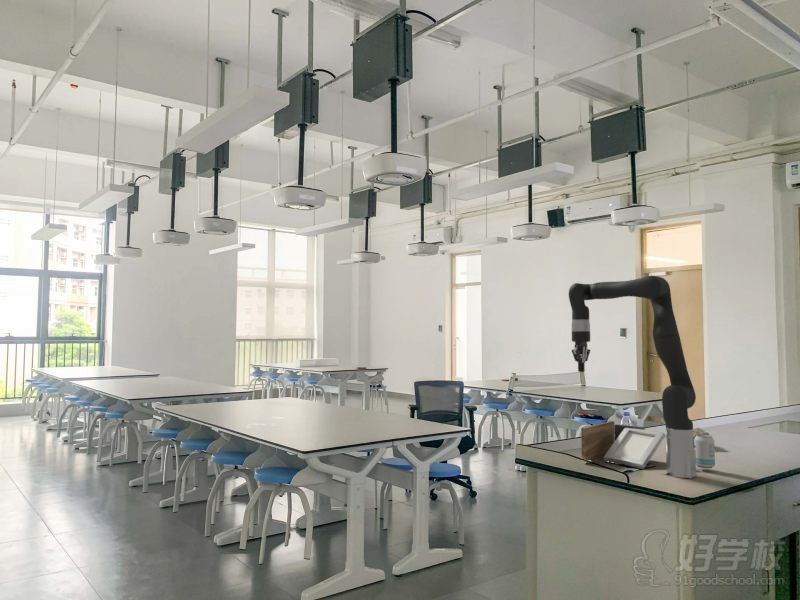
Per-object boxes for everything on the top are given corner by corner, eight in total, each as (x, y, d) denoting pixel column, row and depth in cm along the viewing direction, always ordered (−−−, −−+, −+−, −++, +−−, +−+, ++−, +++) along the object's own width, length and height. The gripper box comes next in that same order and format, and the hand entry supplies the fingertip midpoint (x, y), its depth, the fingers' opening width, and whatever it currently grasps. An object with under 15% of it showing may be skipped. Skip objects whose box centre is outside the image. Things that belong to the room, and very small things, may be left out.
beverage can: (697, 464, 236) (696, 433, 237) (716, 466, 231) (716, 435, 232) (692, 467, 231) (692, 435, 231) (712, 469, 226) (711, 437, 227)
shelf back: (614, 454, 255) (614, 421, 256) (585, 464, 234) (584, 428, 235) (611, 454, 256) (610, 420, 257) (581, 464, 235) (581, 427, 236)
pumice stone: (683, 443, 285) (683, 425, 286) (711, 445, 280) (711, 427, 281) (683, 447, 273) (682, 429, 273) (712, 449, 268) (712, 431, 268)
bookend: (649, 458, 248) (648, 426, 249) (644, 460, 244) (643, 427, 245) (620, 454, 256) (619, 423, 257) (615, 456, 252) (614, 424, 253)
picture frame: (603, 456, 238) (626, 425, 250) (605, 462, 239) (627, 431, 251) (642, 464, 226) (664, 432, 239) (644, 470, 227) (665, 438, 240)
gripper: (582, 330, 248) (582, 372, 246) (596, 330, 257) (596, 371, 256) (565, 330, 253) (565, 372, 251) (579, 330, 262) (580, 370, 261)
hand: (581, 371), depth 254 cm, fingers closed
